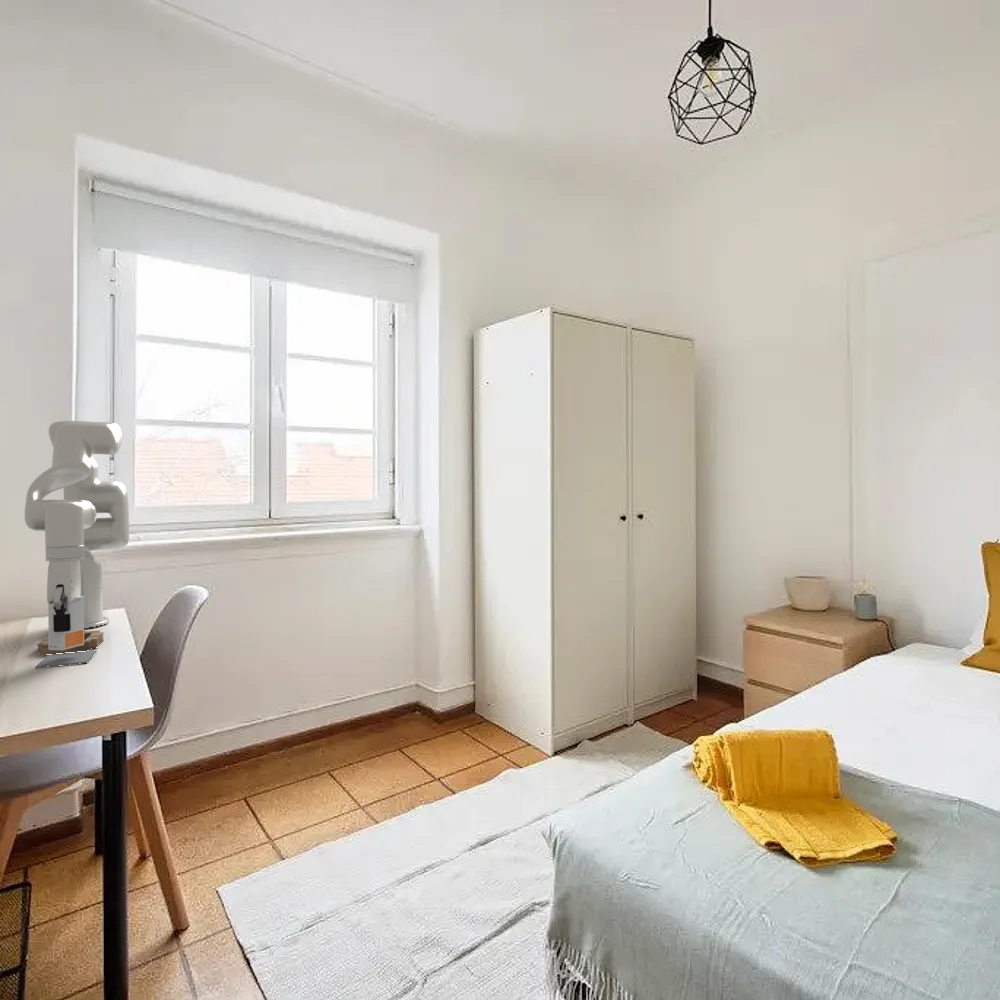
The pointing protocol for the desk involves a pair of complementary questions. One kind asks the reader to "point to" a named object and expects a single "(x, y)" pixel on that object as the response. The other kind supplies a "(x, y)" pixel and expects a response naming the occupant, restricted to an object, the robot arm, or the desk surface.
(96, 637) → the box
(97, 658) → the desk surface
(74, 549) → the robot arm
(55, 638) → the skincare box
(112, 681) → the desk surface
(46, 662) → the grey rubber mat
